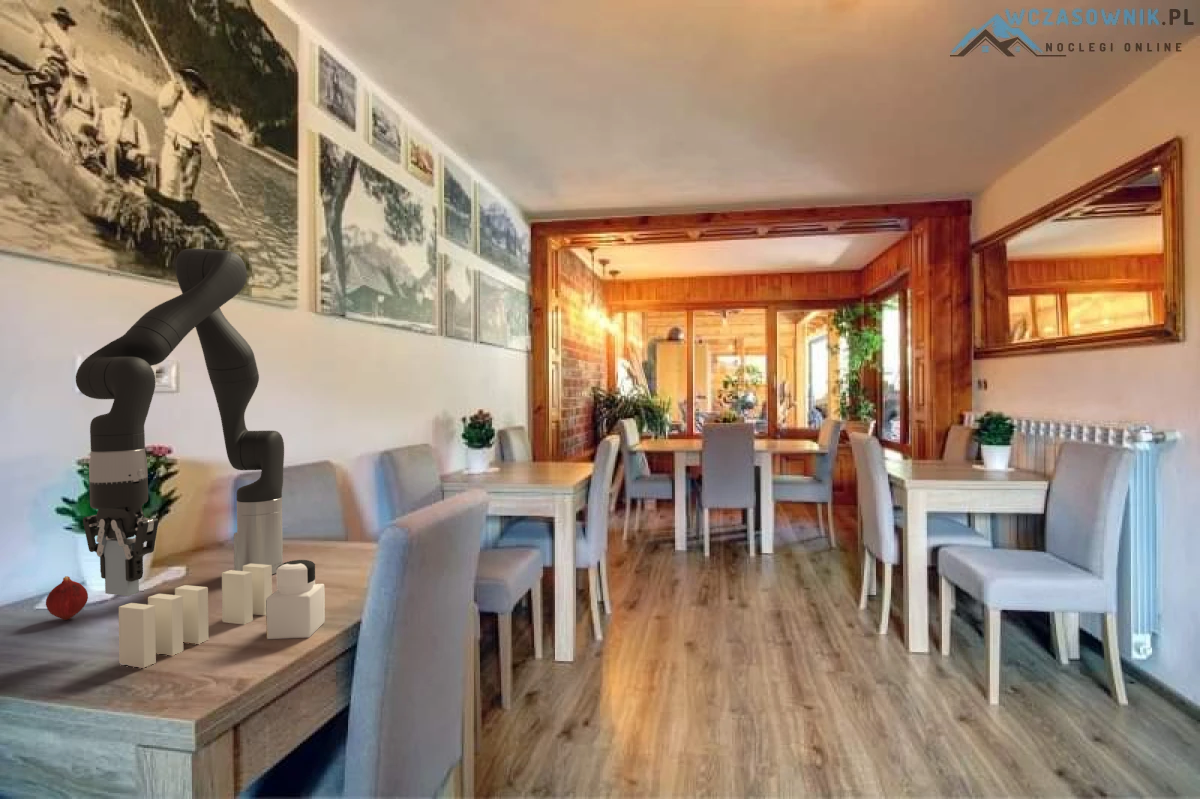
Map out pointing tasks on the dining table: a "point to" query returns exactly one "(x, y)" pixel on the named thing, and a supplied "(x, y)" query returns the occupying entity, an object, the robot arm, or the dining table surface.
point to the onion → (66, 599)
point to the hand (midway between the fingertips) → (122, 578)
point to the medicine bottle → (295, 602)
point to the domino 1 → (117, 570)
